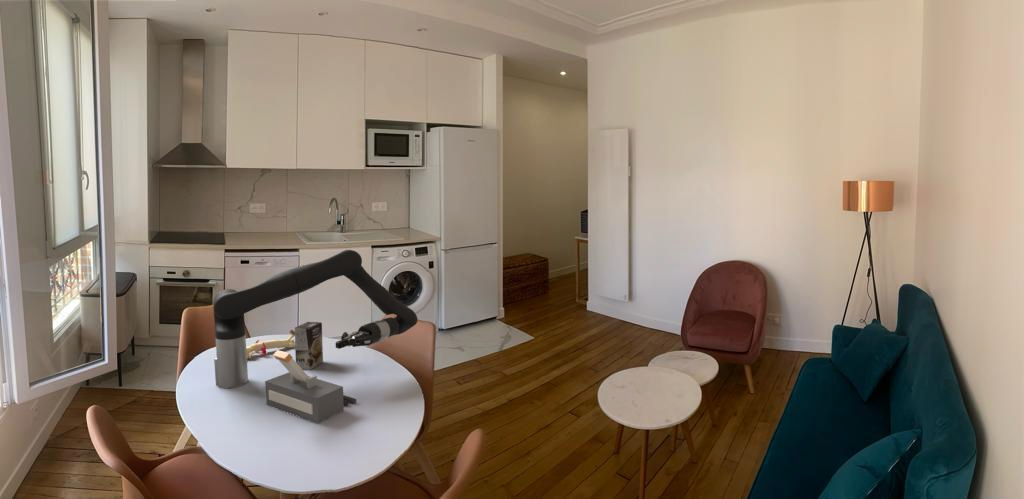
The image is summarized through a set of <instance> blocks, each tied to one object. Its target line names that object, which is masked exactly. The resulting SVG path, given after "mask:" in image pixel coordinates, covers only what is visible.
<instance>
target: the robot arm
mask: <svg viewBox="0 0 1024 499" xmlns="http://www.w3.org/2000/svg"><path fill="white" fill-rule="evenodd" d="M362 264H363V259H362V256H361V254H360V253H358V252H357V251H355V250H352V249H345V250H342V251H341V252H339V253H336V254H334V255H333V256H330V257H328V258H325V259H323V260H320V261H317V262H313V263H308V264H304V265H301V266H297V267H294V268H290V269H287V270H285V271H282V272H278V273H277V274H274V275H273V276H270V277H269V278H267V279H266V280H264V281H261V282H260V283H259V284H256V285H253V286H252V287H248V288H245V289H241V290H238V291H237V290H236V289H232V288H226V289H223V290H221V291H219V292H218V293H216V295H215V296H214V298H213V302H212V303H213V304H212V306H213V319H214V336H215V337H214V338H215V348H216V349H215V350H216V357H215V358H214V360H213V362H214V363H213V364H214V376H215V386H218V387H219V388H223V389H231V388H238V387H241V386H243V385H246V384H247V383H248V382H249V374H248V358H247V352H246V345H247V338H246V335H247V334H246V322H245V314H246V313H249V312H251V311H253V310H254V309H257V308H260V307H261V306H265V305H268V304H271V303H275V302H278V301H281V300H284V299H287V298H290V297H294V296H295V295H298V294H300V293H304V292H306V291H309V290H310V289H312V288H315V287H317V286H318V285H320V284H322V283H324V282H326V281H330V280H331V279H335V278H339V277H342V276H344V277H346V278H347V279H348V280H350V281H351V282H352V283H353V284H355V285H356V286H357V287H358V288H359V289H360V290H361V291H362V292H363V293H364V294H365V295H366V296H367V297H368V298H369V300H370V301H371V302H372V303H373V304H374V305H375V306H376V307H377V308H378V309H379V310H380V311H381V312H382V313H383V314H385V316H386V315H387V316H389V315H395V316H394V317H385V318H383V319H379V320H374V321H371V322H369V323H366V324H363V325H361V326H359V328H358V329H357V331H353V332H351V333H348V332H347V331H345V332H343V333H342V335H341V336H340V338H341V340H337V341H336V342H335V349H338V350H340V349H343V348H346V347H353V348H354V347H355V348H356V347H357V348H358V347H364V346H367V347H368V346H371V345H373V344H376V343H379V342H381V341H384V340H386V339H388V338H390V337H393V336H396V335H397V336H398V335H401V334H403V333H405V332H407V331H408V330H411V329H412V328H413V327H414V326H416V325H417V323H418V316H417V313H416V312H415V311H414V310H413V309H411V308H410V307H409V306H408V305H405V304H403V303H402V302H400V301H398V300H397V299H396V298H395V297H394V295H393V294H392V293H390V292H389V290H388V289H386V287H384V285H382V284H381V283H379V282H378V281H376V279H374V278H373V277H372V275H370V274H369V273H368V272H367V270H366V269H365V268H364V267H363V265H362Z"/></svg>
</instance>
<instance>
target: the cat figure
mask: <svg viewBox="0 0 1024 499" xmlns="http://www.w3.org/2000/svg"><path fill="white" fill-rule="evenodd" d="M289 334H290V336H288V338H287V339H285V338H284V339H272V340H265V341H264V340H263V341H260V339H258V340H256V341H255V342H254V343H252V344H249V345H247V344H246V352H247V359H251V358H252V356H253V355H255V354H256V353H257V354H258V353H259V352H261V354H262V356H263V357H265V356H266V355H267V350H270V349H271V350H272V349H283V348H284V349H286V348H287V349H288V348H293V347H295V329H289ZM259 341H260V342H259Z"/></svg>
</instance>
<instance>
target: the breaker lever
mask: <svg viewBox="0 0 1024 499" xmlns="http://www.w3.org/2000/svg"><path fill="white" fill-rule="evenodd" d="M272 356H273V357H274V358H275V359H276V360H278V362H279V363H281V365H282V366H283V367H284V368H285V369H286V370H287V371H288V373H289V372H290V373H291V374H292V375H293V376H294V378H295V379H296V380H299V381H303V382H306V383H307V378H309V377H308V376H309V375H308V374H307V373H306V372H305V371H304V369H301V367H300V366H299V365H298V364H297V363H296V360H295V359H294V358H293V356H292V355H291V354H290V352H286V351H284V350H283V351H282V350H279V349H277V350H276V351H275V352H274V353H273V355H272Z"/></svg>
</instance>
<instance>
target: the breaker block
mask: <svg viewBox="0 0 1024 499" xmlns="http://www.w3.org/2000/svg"><path fill="white" fill-rule="evenodd" d="M308 377H309V378H307V383H306V382H303V381H299V380H296V379H295V378H294V376H293V375H292V374H291V373H290V372H289V371H288V372H285V373H283V374H281V375H278V376H275V377H273V378H270V379H267V380H265V381H264V386H265V406H268V407H271V408H273V407H274V409H276V408H277V409H276V410H279V411H282V412H284V411H285V413H287V412H288V413H287V414H290V413H291V414H290V415H293V414H294V415H293V416H296V415H297V416H296V417H298V416H300V417H299V418H301V417H302V418H301V419H304V418H305V419H304V420H307V421H309V420H310V422H312V421H313V422H312V423H316V424H320V423H322V422H324V421H326V420H328V419H330V418H332V417H334V416H336V415H338V414H340V413H342V412H344V411H343V410H345V409H344V407H347V406H348V405H349V403H351V404H354V403H355V404H356V402H357V398H354V397H351V396H347V395H346V394H345V395H344V386H342V385H339V384H336V383H333V382H328V381H325V380H322V379H319V378H318V377H317V375H312V376H310V375H308ZM346 405H347V406H346ZM341 411H342V412H341ZM339 412H340V413H339ZM337 413H338V414H337ZM335 414H336V415H335ZM333 415H334V416H333ZM331 416H332V417H331ZM329 417H330V418H329ZM327 418H328V419H327ZM325 419H326V420H325ZM323 420H324V421H323ZM321 421H322V422H321Z"/></svg>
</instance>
